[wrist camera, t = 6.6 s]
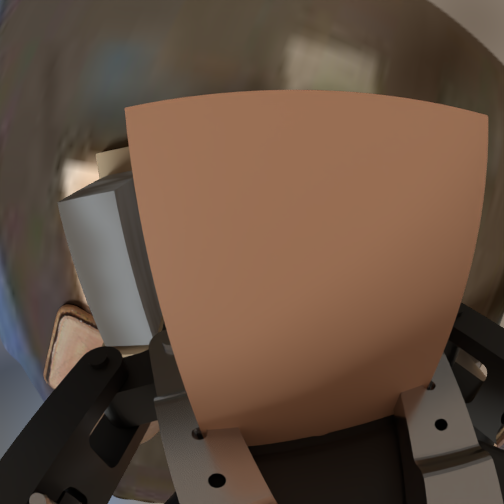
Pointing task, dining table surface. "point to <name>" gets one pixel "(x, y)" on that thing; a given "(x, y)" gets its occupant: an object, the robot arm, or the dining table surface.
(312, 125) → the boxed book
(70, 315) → the case
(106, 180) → the shelf
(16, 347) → the dining table surface
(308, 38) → the dining table surface
